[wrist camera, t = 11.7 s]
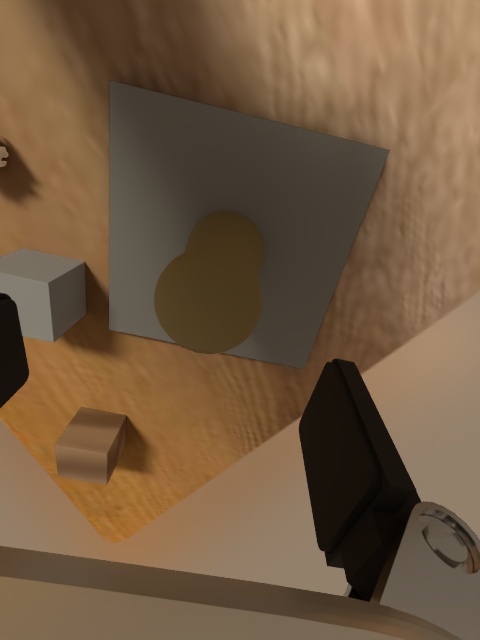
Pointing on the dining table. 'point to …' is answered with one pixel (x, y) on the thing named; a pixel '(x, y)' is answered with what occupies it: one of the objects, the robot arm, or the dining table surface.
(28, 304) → the slate-grey block
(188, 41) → the dining table surface
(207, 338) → the olive lobed rounded piece
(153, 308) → the mat
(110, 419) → the walnut block
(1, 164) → the game pieces
